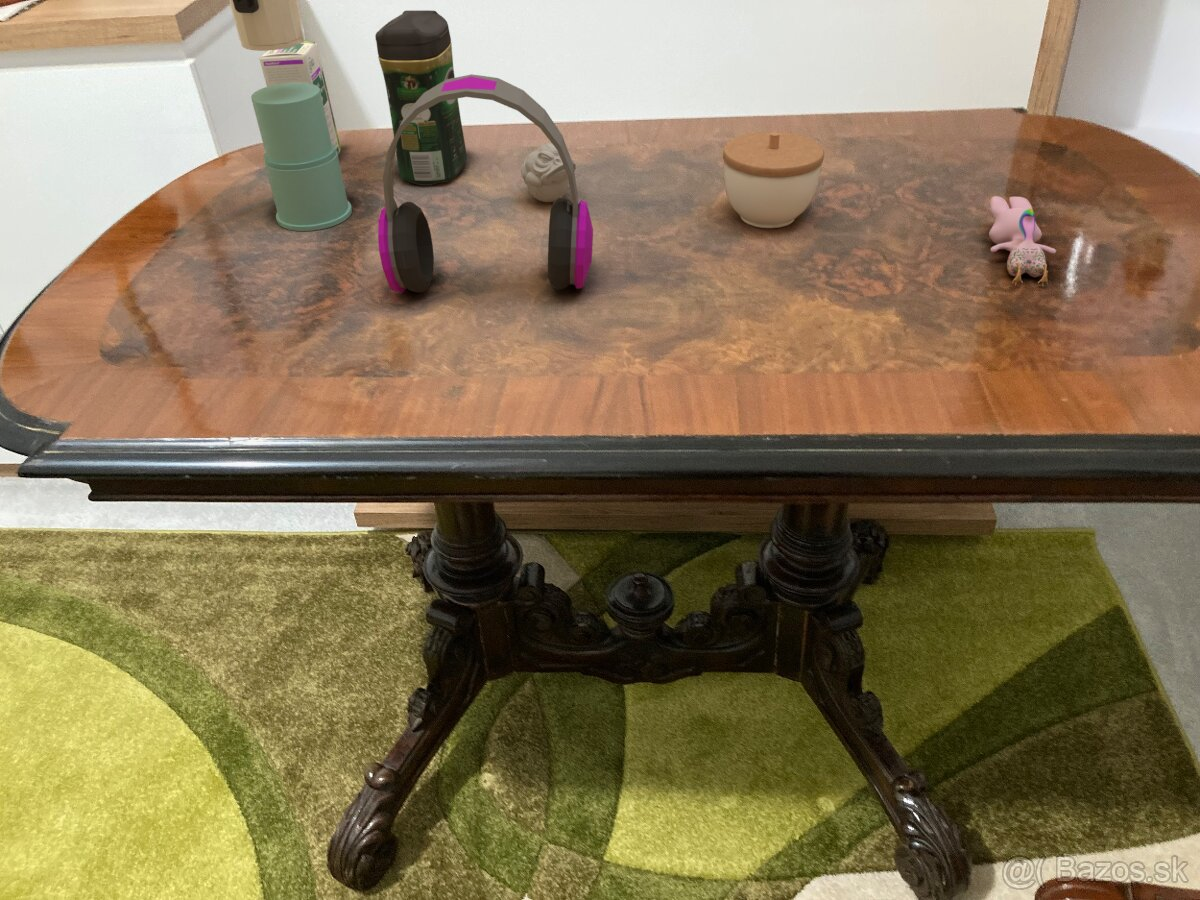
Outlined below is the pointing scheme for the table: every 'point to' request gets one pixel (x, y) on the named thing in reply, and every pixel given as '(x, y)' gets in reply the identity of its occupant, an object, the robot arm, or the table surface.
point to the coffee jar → (410, 68)
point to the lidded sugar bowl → (771, 176)
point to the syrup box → (300, 75)
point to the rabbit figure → (1018, 237)
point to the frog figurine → (545, 173)
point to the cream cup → (270, 25)
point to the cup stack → (300, 157)
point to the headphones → (407, 226)
